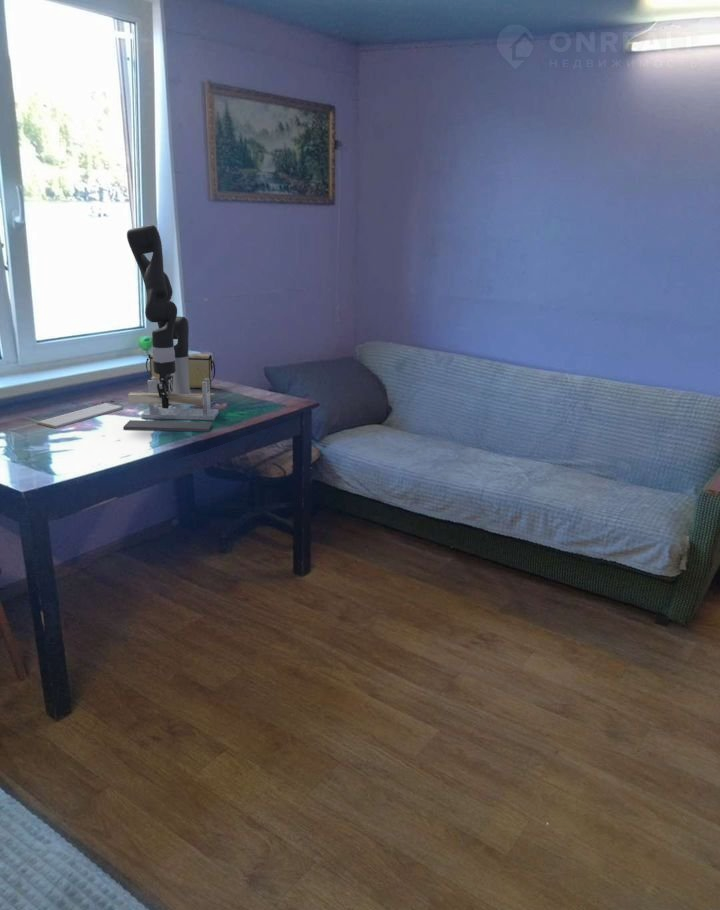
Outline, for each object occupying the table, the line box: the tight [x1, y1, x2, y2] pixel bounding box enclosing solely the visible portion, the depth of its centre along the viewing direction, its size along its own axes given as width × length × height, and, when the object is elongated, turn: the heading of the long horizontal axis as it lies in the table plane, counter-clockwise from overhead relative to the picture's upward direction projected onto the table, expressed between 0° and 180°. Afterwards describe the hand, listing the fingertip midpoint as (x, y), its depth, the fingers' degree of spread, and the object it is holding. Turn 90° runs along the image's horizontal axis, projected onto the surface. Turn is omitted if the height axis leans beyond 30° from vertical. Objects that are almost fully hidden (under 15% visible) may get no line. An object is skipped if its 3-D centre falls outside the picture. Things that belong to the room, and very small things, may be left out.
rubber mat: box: [123, 419, 213, 433], centre depth 253 cm, size 8×30×1 cm, turn 91°
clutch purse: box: [145, 353, 216, 389], centre depth 307 cm, size 30×7×15 cm, turn 93°
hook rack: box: [140, 377, 219, 421], centre depth 265 cm, size 10×27×14 cm, turn 91°
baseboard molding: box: [35, 400, 124, 429], centre depth 263 cm, size 31×3×12 cm
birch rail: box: [127, 391, 204, 406], centre depth 250 cm, size 3×26×3 cm, turn 91°
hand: (166, 406), depth 251 cm, fingers closed on birch rail, 3 cm apart
